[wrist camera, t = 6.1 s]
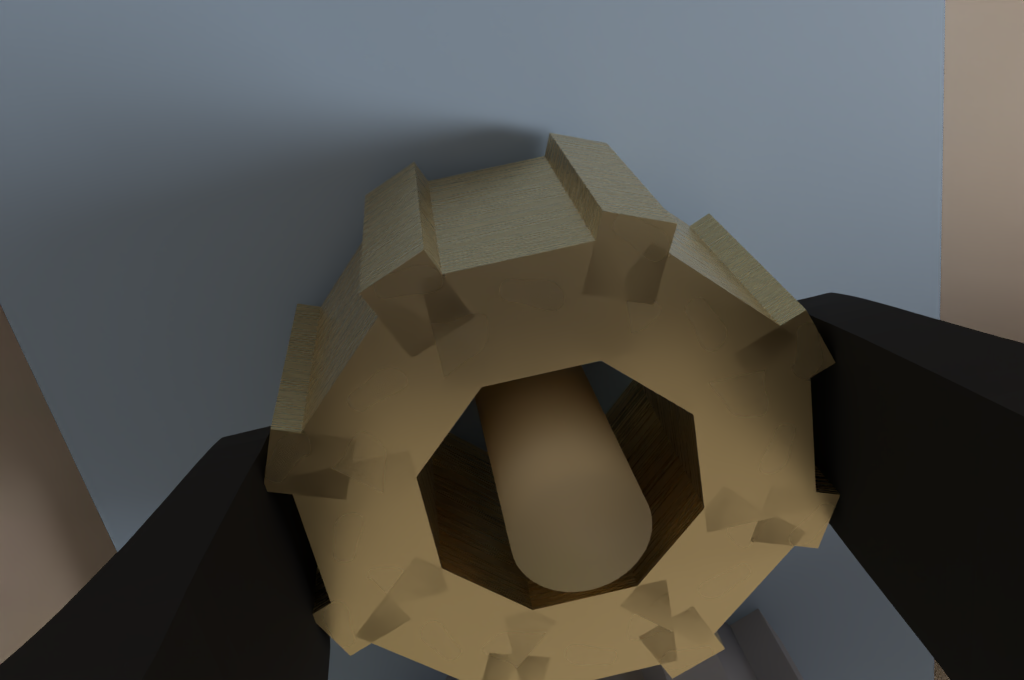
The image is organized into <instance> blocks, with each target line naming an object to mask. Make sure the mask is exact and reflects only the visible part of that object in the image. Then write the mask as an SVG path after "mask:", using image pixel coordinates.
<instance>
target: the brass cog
mask: <svg viewBox="0 0 1024 680" xmlns="http://www.w3.org/2000/svg"><path fill="white" fill-rule="evenodd" d="M597 361H603V362H605V363H606V364H608V365H610V366H611V367H613V368H615V369H617V370H618V371H620V372H622V373H623V374H625V375H627V376H628V377H630V378H632V379H633V380H632V381H631V383H630V384H629V385H628V387H627V388H626V389H625V390H624V392H623V393H622V394H621V395H620V397H619V398H618V399H617V401H616V402H615V403H614V404H613V406H612V407H611V408H610V409H609V411H608V412H607V413H606V414H605V416H606V418H607V420H608V422H609V424H610V426H611V428H612V431H613V433H614V435H615V437H616V439H617V441H618V443H619V445H620V447H621V449H622V451H623V453H624V455H625V457H626V460H627V462H628V464H629V466H630V468H631V470H632V472H633V474H634V476H635V478H636V480H637V482H638V484H639V487H640V489H641V491H642V493H643V495H644V497H645V499H646V501H647V503H648V506H649V508H650V511H651V516H652V533H651V537H650V541H649V543H648V546H647V548H646V550H645V552H644V553H643V555H642V556H641V558H640V559H639V561H638V562H637V563H636V564H635V565H634V566H633V567H632V568H631V569H630V570H629V571H628V572H627V573H625V574H624V575H623V576H621V577H620V578H618V579H616V580H615V581H613V582H611V583H609V584H607V585H604V586H602V587H599V588H596V589H592V590H587V591H580V592H562V591H556V590H552V589H548V588H545V587H543V586H540V585H539V584H537V583H535V582H533V581H532V580H530V579H529V578H528V577H527V576H526V575H525V574H524V573H523V572H522V571H521V570H520V569H519V567H518V566H517V564H516V562H515V560H514V558H513V555H512V552H511V547H510V543H509V539H508V535H507V531H506V526H505V522H504V518H503V514H502V510H501V505H500V501H499V497H498V493H497V488H496V484H495V480H494V476H493V472H492V467H491V463H490V459H489V455H488V452H486V451H484V450H482V449H481V448H479V447H477V446H475V445H473V444H471V443H469V442H467V441H465V440H463V439H461V438H459V437H457V436H455V435H454V434H452V433H450V432H449V431H450V430H451V429H452V427H453V426H454V425H455V423H456V422H457V420H458V419H459V418H460V416H461V415H462V413H463V412H464V411H465V409H466V408H467V407H468V405H469V404H470V402H471V401H472V400H473V398H474V397H475V396H476V394H477V393H478V391H479V390H480V389H481V387H485V386H489V385H494V384H498V383H502V382H507V381H511V380H516V379H520V378H525V377H529V376H534V375H538V374H543V373H547V372H552V371H556V370H561V369H565V368H570V367H574V366H579V365H583V364H588V363H592V362H597ZM834 363H835V361H834V359H833V357H832V355H831V354H830V352H829V350H828V348H827V346H826V345H825V343H824V341H823V339H822V337H821V336H820V334H819V332H818V330H817V328H816V326H815V325H814V323H813V321H812V319H811V317H810V316H809V314H808V312H807V310H806V309H805V308H804V307H803V306H802V305H801V304H800V303H799V302H798V301H797V300H796V299H795V298H794V297H793V296H792V295H791V294H790V293H789V292H788V291H787V290H786V289H785V288H784V287H783V286H782V285H781V284H780V283H779V282H778V281H777V280H776V279H775V278H774V277H773V276H772V275H771V274H770V273H769V272H768V271H767V270H766V269H765V268H764V267H763V266H762V265H761V264H760V263H759V262H758V261H757V260H756V259H755V258H754V257H753V256H752V255H751V254H750V253H749V252H748V251H747V250H746V249H745V248H744V247H743V246H742V245H741V244H740V243H739V242H738V241H737V240H736V239H735V238H734V237H733V236H732V235H731V234H730V233H729V232H728V231H727V230H726V229H725V228H724V227H723V226H722V225H721V224H720V223H719V222H718V221H717V220H716V219H715V218H714V217H713V216H712V215H710V214H707V215H706V216H704V217H703V218H701V219H700V220H698V221H696V222H695V223H693V224H692V225H690V226H689V225H688V224H686V223H685V222H683V221H682V220H680V219H679V218H677V217H676V216H674V215H673V214H671V213H670V212H668V211H667V210H665V209H664V208H663V207H662V205H661V204H660V203H659V202H658V201H657V200H656V199H655V197H654V196H653V195H652V194H651V193H650V192H649V191H648V189H647V188H646V187H645V186H644V185H643V184H642V183H641V181H640V180H639V179H638V178H637V177H636V176H635V175H634V174H633V172H632V171H631V170H630V169H629V168H628V167H627V166H626V164H625V163H624V162H623V161H622V160H621V159H620V158H619V156H618V155H617V154H616V153H615V152H614V151H613V150H612V148H611V147H610V146H609V145H608V144H607V143H603V142H598V141H592V140H587V139H582V138H576V137H571V136H566V135H560V134H555V133H549V138H548V142H547V147H546V151H545V156H542V157H537V158H533V159H528V160H524V161H519V162H514V163H510V164H505V165H500V166H496V167H491V168H487V169H482V170H477V171H473V172H468V173H463V174H459V175H454V176H450V177H445V178H440V179H436V180H431V181H428V180H427V179H426V177H425V176H424V175H423V173H422V172H421V170H420V169H419V168H418V166H417V165H416V164H415V162H413V163H412V164H410V165H409V166H407V167H406V168H404V169H403V170H402V171H400V172H399V173H397V174H396V175H394V176H393V177H391V178H390V179H388V180H387V181H386V182H384V183H383V184H381V185H380V186H378V187H377V188H375V189H374V190H372V191H371V192H370V193H368V194H367V195H365V208H364V224H363V239H362V243H361V244H360V246H359V247H358V249H357V251H356V252H355V254H354V255H353V257H352V258H351V260H350V262H349V263H348V265H347V266H346V268H345V269H344V271H343V272H342V274H341V276H340V277H339V279H338V280H337V282H336V283H335V285H334V287H333V288H332V290H331V291H330V293H329V294H328V296H327V297H326V299H325V301H324V302H323V304H322V305H321V307H318V306H311V305H304V304H297V307H296V311H295V316H294V321H293V326H292V330H291V335H290V340H289V344H288V349H287V354H286V359H285V363H284V368H283V373H282V377H281V382H280V387H279V391H278V396H277V401H276V406H275V410H274V415H273V420H272V424H271V429H270V437H269V446H268V454H267V462H266V470H265V479H264V484H265V487H266V489H267V492H275V493H284V494H293V497H294V500H295V503H296V506H297V508H298V511H299V514H300V517H301V520H302V523H303V525H304V528H305V531H306V534H307V537H308V540H309V542H310V545H311V548H312V551H313V554H314V557H315V559H316V562H317V573H316V588H315V603H314V609H313V616H314V619H315V622H316V623H317V624H318V625H319V626H320V627H321V628H322V629H323V630H324V631H325V632H326V633H327V634H328V635H329V636H330V637H331V638H332V639H333V640H334V641H335V642H336V643H337V644H338V645H340V646H341V647H342V648H343V649H344V650H345V651H346V652H347V653H348V654H349V655H350V656H351V655H353V654H354V653H356V652H358V651H359V650H361V649H363V648H364V647H366V646H368V645H369V644H371V643H373V644H375V645H378V646H380V647H382V648H385V649H387V650H390V651H392V652H394V653H397V654H399V655H402V656H404V657H406V658H409V659H411V660H414V661H416V662H418V663H421V664H423V665H426V666H428V667H430V668H433V669H435V670H438V671H440V672H442V673H445V674H447V675H450V676H452V677H454V678H457V679H459V680H596V679H600V678H604V677H609V676H613V675H617V674H621V673H626V672H630V671H634V670H639V669H643V668H647V667H652V666H656V665H660V664H661V665H662V667H663V668H664V669H665V670H666V672H667V673H668V674H669V675H670V676H671V678H672V679H673V678H674V677H676V676H678V675H680V674H681V673H683V672H685V671H687V670H689V669H690V668H692V667H694V666H696V665H697V664H699V663H701V662H703V661H704V660H706V659H708V658H710V657H712V656H713V655H715V654H717V653H719V652H720V651H722V650H724V649H725V648H724V645H723V643H722V641H721V639H720V636H719V634H718V632H717V630H718V629H719V628H720V627H721V626H722V625H723V624H724V622H725V621H726V620H727V619H728V618H729V617H730V616H731V615H732V614H733V613H734V611H735V610H736V609H737V608H738V607H739V606H740V605H741V604H742V603H743V602H744V601H745V599H746V598H747V597H748V596H749V595H750V594H751V593H752V592H753V591H754V590H755V589H756V587H757V586H758V585H759V584H760V583H761V582H762V581H763V580H764V579H765V578H766V576H767V575H768V574H769V573H770V572H771V571H772V570H773V569H774V568H775V567H776V566H777V564H778V563H779V562H780V561H781V560H782V559H783V558H784V557H785V556H786V555H787V553H788V552H789V551H790V550H791V549H792V548H793V547H794V546H800V547H810V548H818V547H819V545H820V542H821V540H822V538H823V535H824V533H825V530H826V528H827V526H828V523H829V521H830V518H831V516H832V513H833V511H834V509H835V506H836V504H837V501H838V499H839V497H840V494H839V493H838V491H837V490H836V489H835V487H834V486H833V485H832V484H831V483H830V482H829V481H828V480H827V479H826V478H825V476H824V475H823V474H822V473H821V471H820V470H819V469H818V468H817V466H816V465H815V460H814V440H813V419H812V399H811V377H813V376H814V375H816V374H818V373H819V372H821V371H823V370H824V369H826V368H828V367H829V366H831V365H833V364H834Z"/></svg>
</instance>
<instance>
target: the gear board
mask: <svg viewBox="0 0 1024 680" xmlns="http://www.w3.org/2000/svg"><path fill="white" fill-rule="evenodd" d="M944 40H945V0H0V305H1V307H2V309H3V311H4V313H5V315H6V317H7V320H8V322H9V324H10V326H11V328H12V330H13V332H14V334H15V336H16V339H17V341H18V343H19V345H20V347H21V349H22V351H23V353H24V356H25V358H26V360H27V362H28V364H29V366H30V368H31V370H32V373H33V375H34V377H35V379H36V381H37V383H38V385H39V387H40V389H41V392H42V394H43V396H44V398H45V400H46V402H47V404H48V406H49V409H50V411H51V413H52V415H53V417H54V419H55V421H56V423H57V425H58V428H59V430H60V432H61V434H62V436H63V438H64V440H65V442H66V445H67V447H68V449H69V451H70V453H71V455H72V457H73V459H74V462H75V464H76V466H77V468H78V470H79V472H80V474H81V476H82V478H83V481H84V483H85V485H86V487H87V489H88V491H89V493H90V495H91V498H92V500H93V502H94V504H95V506H96V508H97V510H98V512H99V515H100V517H101V519H102V521H103V523H104V525H105V527H106V529H107V531H108V534H109V536H110V538H111V540H112V542H113V544H114V546H115V548H116V551H117V552H118V551H119V550H120V549H121V548H122V547H123V546H124V545H125V544H126V543H127V542H128V541H129V539H130V538H131V537H132V536H133V535H134V534H135V533H136V532H137V530H138V529H139V528H140V527H141V526H142V525H143V524H144V523H145V521H146V520H147V519H148V518H149V517H150V516H151V515H152V514H153V512H154V511H155V510H156V509H157V508H158V507H159V506H160V505H161V503H162V502H163V501H164V500H165V499H166V498H167V497H168V496H169V494H170V493H171V492H172V491H173V490H174V489H175V487H176V486H177V485H178V484H179V483H180V482H181V481H182V479H183V478H184V477H185V476H186V475H187V474H188V473H189V471H190V470H191V469H192V468H193V467H194V466H195V465H196V463H197V462H198V461H199V460H200V459H201V458H202V457H203V456H204V455H205V453H206V452H207V451H208V450H209V449H210V448H211V447H212V446H213V445H214V444H215V443H216V442H217V441H218V440H220V439H221V438H222V437H226V436H230V435H234V434H238V433H243V432H247V431H251V430H255V429H259V428H264V427H268V426H271V424H272V420H273V415H274V410H275V406H276V401H277V396H278V391H279V387H280V382H281V377H282V373H283V368H284V363H285V359H286V354H287V349H288V344H289V340H290V335H291V330H292V326H293V321H294V316H295V311H296V307H297V304H304V305H311V306H318V307H321V305H322V304H323V302H324V301H325V299H326V297H327V296H328V294H329V293H330V291H331V290H332V288H333V287H334V285H335V283H336V282H337V280H338V279H339V277H340V276H341V274H342V272H343V271H344V269H345V268H346V266H347V265H348V263H349V262H350V260H351V258H352V257H353V255H354V254H355V252H356V251H357V249H358V247H359V246H360V244H361V243H362V239H363V224H364V208H365V195H367V194H368V193H370V192H371V191H372V190H374V189H375V188H377V187H378V186H380V185H381V184H383V183H384V182H386V181H387V180H388V179H390V178H391V177H393V176H394V175H396V174H397V173H399V172H400V171H402V170H403V169H404V168H406V167H407V166H409V165H410V164H412V163H413V162H415V164H416V165H417V166H418V168H419V169H420V170H421V172H422V173H423V175H424V176H425V177H426V179H427V180H428V181H431V180H436V179H440V178H445V177H450V176H454V175H459V174H463V173H468V172H473V171H477V170H482V169H487V168H491V167H496V166H500V165H505V164H510V163H514V162H519V161H524V160H528V159H533V158H537V157H542V156H545V151H546V147H547V142H548V138H549V133H555V134H560V135H566V136H571V137H576V138H582V139H587V140H592V141H598V142H603V143H607V144H608V145H609V146H610V147H611V148H612V150H613V151H614V152H615V153H616V154H617V155H618V156H619V158H620V159H621V160H622V161H623V162H624V163H625V164H626V166H627V167H628V168H629V169H630V170H631V171H632V172H633V174H634V175H635V176H636V177H637V178H638V179H639V180H640V181H641V183H642V184H643V185H644V186H645V187H646V188H647V189H648V191H649V192H650V193H651V194H652V195H653V196H654V197H655V199H656V200H657V201H658V202H659V203H660V204H661V205H662V207H663V208H664V209H665V210H667V211H668V212H670V213H671V214H673V215H674V216H676V217H677V218H679V219H680V220H682V221H683V222H685V223H686V224H688V225H689V226H690V225H692V224H693V223H695V222H696V221H698V220H700V219H701V218H703V217H704V216H706V215H707V214H710V215H712V216H713V217H714V218H715V219H716V220H717V221H718V222H719V223H720V224H721V225H722V226H723V227H724V228H725V229H726V230H727V231H728V232H729V233H730V234H731V235H732V236H733V237H734V238H735V239H736V240H737V241H738V242H739V243H740V244H741V245H742V246H743V247H744V248H745V249H746V250H747V251H748V252H749V253H750V254H751V255H752V256H753V257H754V258H755V259H756V260H757V261H758V262H759V263H760V264H761V265H762V266H763V267H764V268H765V269H766V270H767V271H768V272H769V273H770V274H771V275H772V276H773V277H774V278H775V279H776V280H777V281H778V282H779V283H780V284H781V285H782V286H783V287H784V288H785V289H786V290H787V291H788V292H789V293H790V294H791V295H792V296H793V297H794V298H795V299H796V300H801V299H805V298H809V297H813V296H817V295H822V294H826V293H830V292H833V293H839V294H845V295H850V296H855V297H859V298H863V299H867V300H871V301H875V302H878V303H882V304H886V305H889V306H893V307H897V308H900V309H903V310H907V311H910V312H914V313H917V314H921V315H924V316H927V317H931V318H934V319H938V320H940V282H941V221H942V161H943V101H944ZM632 380H633V379H632V378H630V377H628V376H627V375H625V374H623V373H622V372H620V371H618V370H617V369H615V368H613V367H611V366H610V365H608V364H606V363H605V362H603V361H597V362H592V363H588V364H583V365H579V366H574V367H570V368H565V369H561V370H556V371H552V372H547V373H543V374H538V375H534V376H529V377H525V378H520V379H516V380H511V381H507V382H502V383H498V384H494V385H489V386H485V387H481V389H480V390H479V391H478V393H477V394H476V396H475V397H474V398H473V400H472V401H471V402H470V404H469V405H468V407H467V408H466V409H465V411H464V412H463V413H462V415H461V416H460V418H459V419H458V420H457V422H456V423H455V425H454V426H453V427H452V429H451V430H450V431H449V432H450V433H452V434H454V435H455V436H457V437H459V438H461V439H463V440H465V441H467V442H469V443H471V444H473V445H475V446H477V447H479V448H481V449H482V450H484V451H486V452H488V455H489V459H490V463H491V467H492V472H493V476H494V480H495V484H496V488H497V493H498V497H499V501H500V505H501V510H502V514H503V518H504V522H505V526H506V531H507V535H508V539H509V543H510V547H511V552H512V555H513V558H514V560H515V562H516V564H517V566H518V567H519V569H520V570H521V571H522V572H523V573H524V574H525V575H526V576H527V577H528V578H529V579H530V580H532V581H533V582H535V583H537V584H539V585H540V586H543V587H545V588H548V589H552V590H556V591H562V592H580V591H587V590H592V589H596V588H599V587H602V586H604V585H607V584H609V583H611V582H613V581H615V580H616V579H618V578H620V577H621V576H623V575H624V574H625V573H627V572H628V571H629V570H630V569H631V568H632V567H633V566H634V565H635V564H636V563H637V562H638V561H639V559H640V558H641V556H642V555H643V553H644V552H645V550H646V548H647V546H648V543H649V541H650V537H651V533H652V516H651V511H650V508H649V506H648V503H647V501H646V499H645V497H644V495H643V493H642V491H641V489H640V487H639V484H638V482H637V480H636V478H635V476H634V474H633V472H632V470H631V468H630V466H629V464H628V462H627V460H626V457H625V455H624V453H623V451H622V449H621V447H620V445H619V443H618V441H617V439H616V437H615V435H614V433H613V431H612V428H611V426H610V424H609V422H608V420H607V418H606V416H605V414H606V413H607V412H608V411H609V409H610V408H611V407H612V406H613V404H614V403H615V402H616V401H617V399H618V398H619V397H620V395H621V394H622V393H623V392H624V390H625V389H626V388H627V387H628V385H629V384H630V383H631V381H632ZM717 632H718V634H719V636H720V639H721V641H722V643H723V645H724V648H725V649H724V650H722V651H720V652H719V653H717V654H715V655H713V656H712V657H710V658H708V659H706V660H704V661H703V662H701V663H699V664H697V665H696V666H694V667H692V668H690V669H689V670H687V671H685V672H683V673H681V674H680V675H678V676H676V677H674V678H673V679H672V678H671V676H670V675H669V674H668V673H667V672H666V670H665V669H664V668H663V667H662V665H661V664H660V665H656V666H652V667H647V668H643V669H639V670H634V671H630V672H626V673H621V674H617V675H613V676H609V677H604V678H600V679H596V680H934V657H933V656H932V655H931V654H930V652H929V651H928V650H927V648H926V647H925V646H924V645H923V643H922V642H921V641H920V640H919V638H918V637H917V636H916V635H915V633H914V632H913V631H912V629H911V628H910V627H909V626H908V624H907V623H906V622H905V621H904V619H903V618H902V617H901V615H900V614H899V613H898V612H897V610H896V609H895V608H894V607H893V605H892V604H891V603H890V601H889V600H888V599H887V598H886V596H885V595H884V594H883V593H882V591H881V590H880V589H879V587H878V586H877V585H876V584H875V582H874V581H873V580H872V579H871V577H870V576H869V575H868V573H867V572H866V571H865V570H864V568H863V567H862V566H861V564H860V563H859V562H858V561H857V559H856V558H855V557H854V555H853V554H852V553H851V551H850V550H849V549H848V548H847V546H846V545H845V544H844V542H843V541H842V540H841V538H840V537H839V536H838V534H837V533H836V532H835V530H834V529H833V528H832V526H831V525H830V524H829V523H828V526H827V528H826V530H825V533H824V535H823V538H822V540H821V542H820V545H819V547H818V548H810V547H800V546H794V547H793V548H792V549H791V550H790V551H789V552H788V553H787V555H786V556H785V557H784V558H783V559H782V560H781V561H780V562H779V563H778V564H777V566H776V567H775V568H774V569H773V570H772V571H771V572H770V573H769V574H768V575H767V576H766V578H765V579H764V580H763V581H762V582H761V583H760V584H759V585H758V586H757V587H756V589H755V590H754V591H753V592H752V593H751V594H750V595H749V596H748V597H747V598H746V599H745V601H744V602H743V603H742V604H741V605H740V606H739V607H738V608H737V609H736V610H735V611H734V613H733V614H732V615H731V616H730V617H729V618H728V619H727V620H726V621H725V622H724V624H723V625H722V626H721V627H720V628H719V629H718V630H717ZM328 680H459V679H457V678H454V677H452V676H450V675H447V674H445V673H442V672H440V671H438V670H435V669H433V668H430V667H428V666H426V665H423V664H421V663H418V662H416V661H414V660H411V659H409V658H406V657H404V656H402V655H399V654H397V653H394V652H392V651H390V650H387V649H385V648H382V647H380V646H378V645H375V644H373V643H371V644H369V645H368V646H366V647H364V648H363V649H361V650H359V651H358V652H356V653H354V654H353V655H351V656H350V655H349V654H348V653H347V652H346V651H345V650H344V649H343V648H342V647H341V646H340V645H338V644H337V643H336V642H335V641H334V640H333V639H332V638H331V637H330V660H329V673H328Z"/></svg>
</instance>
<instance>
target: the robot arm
mask: <svg viewBox="0 0 1024 680" xmlns="http://www.w3.org/2000/svg"><path fill="white" fill-rule="evenodd" d="M797 301H798V302H799V303H800V304H801V305H802V306H803V307H804V308H805V309H806V310H807V312H808V314H809V316H810V317H811V319H812V321H813V323H814V325H815V326H816V328H817V330H818V332H819V334H820V336H821V337H822V339H823V341H824V343H825V345H826V346H827V348H828V350H829V352H830V354H831V355H832V357H833V359H834V361H835V363H834V364H833V365H831V366H829V367H828V368H826V369H824V370H823V371H821V372H819V373H818V374H816V375H814V376H813V377H811V399H812V419H813V440H814V460H815V465H816V466H817V468H818V469H819V470H820V471H821V473H822V474H823V475H824V476H825V478H826V479H827V480H828V481H829V482H830V483H831V484H832V485H833V486H834V487H835V489H836V490H837V491H838V493H839V494H840V497H839V499H838V501H837V504H836V506H835V509H834V511H833V513H832V516H831V518H830V521H829V524H830V525H831V526H832V528H833V529H834V530H835V532H836V533H837V534H838V536H839V537H840V538H841V540H842V541H843V542H844V544H845V545H846V546H847V548H848V549H849V550H850V551H851V553H852V554H853V555H854V557H855V558H856V559H857V561H858V562H859V563H860V564H861V566H862V567H863V568H864V570H865V571H866V572H867V573H868V575H869V576H870V577H871V579H872V580H873V581H874V582H875V584H876V585H877V586H878V587H879V589H880V590H881V591H882V593H883V594H884V595H885V596H886V598H887V599H888V600H889V601H890V603H891V604H892V605H893V607H894V608H895V609H896V610H897V612H898V613H899V614H900V615H901V617H902V618H903V619H904V621H905V622H906V623H907V624H908V626H909V627H910V628H911V629H912V631H913V632H914V633H915V635H916V636H917V637H918V638H919V640H920V641H921V642H922V643H923V645H924V646H925V647H926V648H927V650H928V651H929V652H930V654H931V655H932V656H933V657H934V659H935V660H936V661H937V662H938V664H939V665H940V666H941V668H942V669H943V670H944V671H945V673H946V674H947V676H948V677H949V678H950V680H1024V343H1020V342H1016V341H1013V340H1009V339H1005V338H1001V337H998V336H994V335H990V334H987V333H983V332H980V331H976V330H972V329H969V328H965V327H962V326H958V325H955V324H951V323H948V322H945V321H941V320H938V319H934V318H931V317H927V316H924V315H921V314H917V313H914V312H910V311H907V310H903V309H900V308H897V307H893V306H889V305H886V304H882V303H878V302H875V301H871V300H867V299H863V298H859V297H855V296H850V295H845V294H839V293H833V292H830V293H826V294H822V295H817V296H813V297H809V298H805V299H801V300H797ZM270 429H271V426H268V427H264V428H259V429H255V430H251V431H247V432H243V433H238V434H234V435H230V436H226V437H222V438H221V439H220V440H218V441H217V442H216V443H215V444H214V445H213V446H212V447H211V448H210V449H209V450H208V451H207V452H206V453H205V455H204V456H203V457H202V458H201V459H200V460H199V461H198V462H197V463H196V465H195V466H194V467H193V468H192V469H191V470H190V471H189V473H188V474H187V475H186V476H185V477H184V478H183V479H182V481H181V482H180V483H179V484H178V485H177V486H176V487H175V489H174V490H173V491H172V492H171V493H170V494H169V496H168V497H167V498H166V499H165V500H164V501H163V502H162V503H161V505H160V506H159V507H158V508H157V509H156V510H155V511H154V512H153V514H152V515H151V516H150V517H149V518H148V519H147V520H146V521H145V523H144V524H143V525H142V526H141V527H140V528H139V529H138V530H137V532H136V533H135V534H134V535H133V536H132V537H131V538H130V539H129V541H128V542H127V543H126V544H125V545H124V546H123V547H122V548H121V549H120V550H119V551H118V552H117V553H116V554H115V555H114V556H113V557H112V558H111V559H110V560H109V561H108V562H107V563H106V564H105V565H104V566H103V567H102V569H101V570H100V571H99V572H98V573H97V574H96V575H95V576H94V577H93V578H92V579H91V580H90V581H89V582H88V583H87V584H86V585H85V586H84V587H83V588H82V589H81V590H80V591H79V592H78V593H77V594H76V595H75V596H74V597H73V598H72V599H71V600H70V601H69V602H68V603H67V604H66V605H65V606H64V607H63V608H62V609H61V610H60V611H59V612H58V613H57V614H56V615H55V616H54V617H53V618H52V619H51V620H50V621H49V622H48V623H47V624H46V625H45V626H44V627H42V628H41V629H40V630H39V631H38V632H37V633H36V634H35V635H34V636H33V637H31V638H30V639H29V640H28V641H27V642H26V643H25V644H24V645H23V646H22V647H20V648H19V649H18V650H17V651H16V652H15V653H13V654H12V655H11V656H10V657H9V658H8V659H6V660H5V661H4V662H3V663H2V664H1V665H0V680H328V673H329V660H330V636H329V635H328V634H327V633H326V632H325V631H324V630H323V629H322V628H321V627H320V626H319V625H318V624H317V623H316V622H315V619H314V616H313V609H314V603H315V588H316V573H317V562H316V559H315V557H314V554H313V551H312V548H311V545H310V542H309V540H308V537H307V534H306V531H305V528H304V525H303V523H302V520H301V517H300V514H299V511H298V508H297V506H296V503H295V500H294V497H293V494H284V493H275V492H267V489H266V487H265V484H264V479H265V470H266V462H267V454H268V446H269V437H270Z"/></svg>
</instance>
